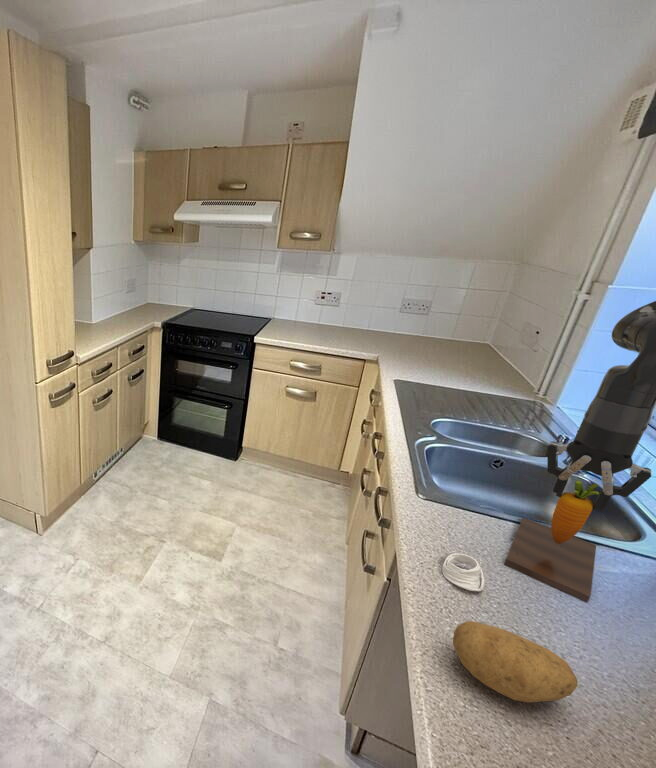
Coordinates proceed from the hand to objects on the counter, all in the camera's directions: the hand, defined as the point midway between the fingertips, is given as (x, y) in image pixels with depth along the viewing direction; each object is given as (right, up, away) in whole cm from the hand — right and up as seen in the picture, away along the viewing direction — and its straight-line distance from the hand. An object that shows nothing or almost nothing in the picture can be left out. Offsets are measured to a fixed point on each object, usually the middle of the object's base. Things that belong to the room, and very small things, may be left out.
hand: (576, 501), depth 81 cm
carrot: (0, -10, +4) cm, 11 cm away
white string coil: (-23, -15, -1) cm, 28 cm away
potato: (-32, -22, -19) cm, 43 cm away
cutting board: (0, -13, +5) cm, 14 cm away
